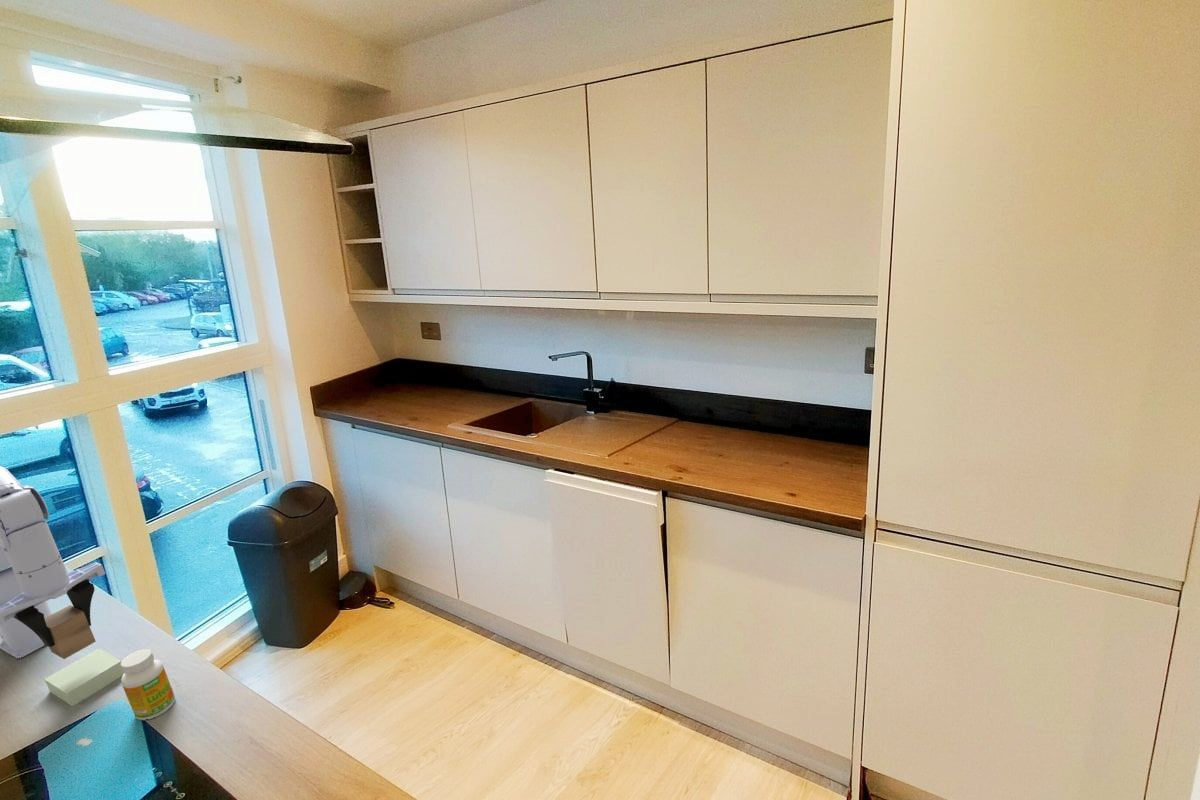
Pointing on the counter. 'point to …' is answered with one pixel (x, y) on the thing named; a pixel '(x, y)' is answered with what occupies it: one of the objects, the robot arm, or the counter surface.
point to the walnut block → (69, 631)
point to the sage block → (85, 676)
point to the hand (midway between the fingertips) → (68, 634)
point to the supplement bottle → (146, 685)
